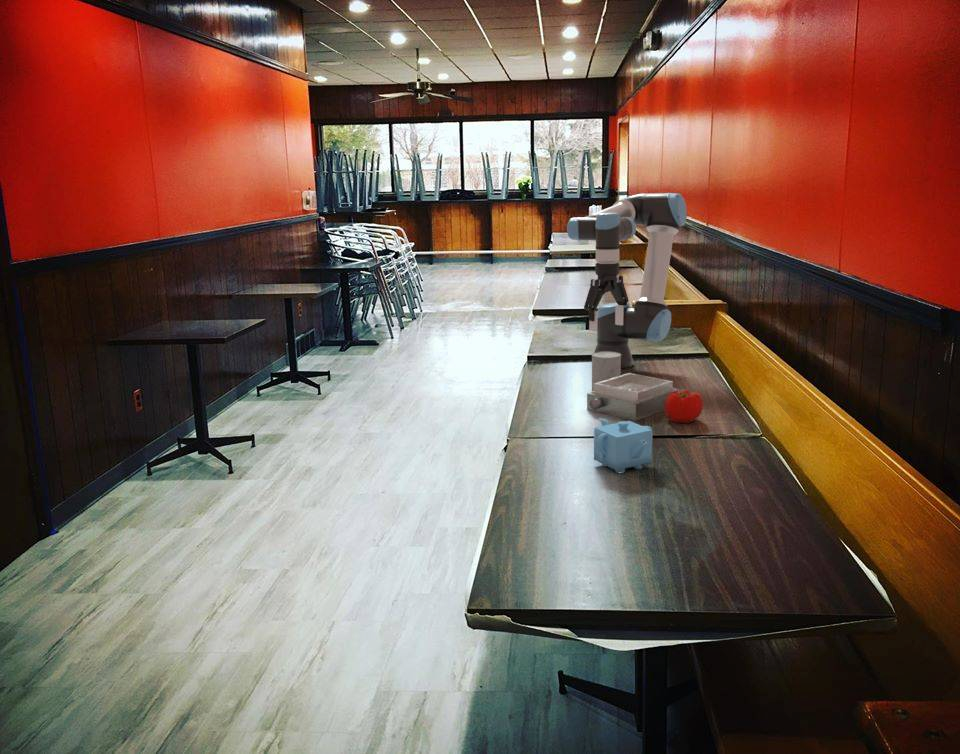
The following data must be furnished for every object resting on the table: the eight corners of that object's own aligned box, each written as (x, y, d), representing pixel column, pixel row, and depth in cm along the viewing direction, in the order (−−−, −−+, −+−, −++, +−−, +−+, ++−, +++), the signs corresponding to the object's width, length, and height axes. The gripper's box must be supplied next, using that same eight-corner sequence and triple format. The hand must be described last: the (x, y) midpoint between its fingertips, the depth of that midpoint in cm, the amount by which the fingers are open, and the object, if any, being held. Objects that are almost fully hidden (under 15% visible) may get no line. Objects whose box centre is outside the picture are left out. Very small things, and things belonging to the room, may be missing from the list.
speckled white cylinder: (619, 386, 268) (620, 351, 265) (621, 394, 259) (622, 357, 256) (590, 386, 269) (591, 351, 266) (592, 394, 260) (592, 357, 257)
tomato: (708, 419, 230) (709, 390, 228) (689, 428, 223) (690, 399, 221) (675, 413, 237) (676, 385, 235) (656, 421, 230) (657, 392, 228)
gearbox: (630, 394, 259) (630, 371, 257) (677, 404, 246) (678, 380, 244) (580, 411, 242) (580, 386, 240) (629, 423, 229) (629, 397, 227)
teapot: (618, 483, 185) (618, 437, 183) (574, 460, 201) (574, 417, 198) (671, 470, 192) (672, 425, 190) (625, 449, 208) (625, 407, 205)
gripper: (621, 258, 265) (620, 321, 270) (572, 265, 248) (572, 332, 253) (640, 259, 259) (638, 323, 265) (591, 266, 243) (591, 334, 248)
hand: (606, 327), depth 259 cm, fingers open, 13 cm apart
